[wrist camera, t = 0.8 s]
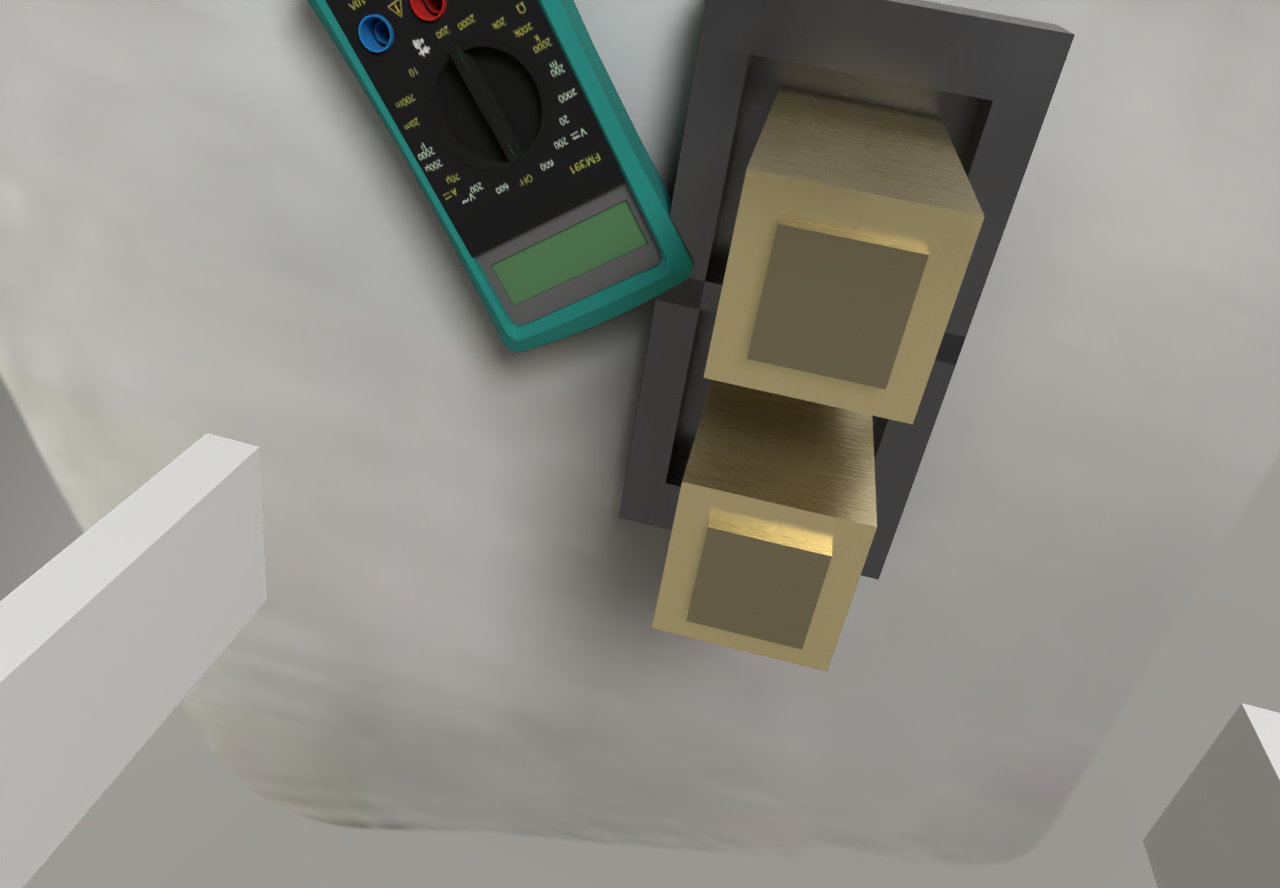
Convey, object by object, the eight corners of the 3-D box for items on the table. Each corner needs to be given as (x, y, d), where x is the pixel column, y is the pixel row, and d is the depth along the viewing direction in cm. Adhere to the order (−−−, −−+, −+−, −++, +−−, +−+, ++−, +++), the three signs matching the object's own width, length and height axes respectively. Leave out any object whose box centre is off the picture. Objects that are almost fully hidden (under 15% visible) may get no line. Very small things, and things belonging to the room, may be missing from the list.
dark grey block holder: (721, -36, 28) (711, -32, 26) (1057, 24, 27) (1074, 34, 25) (631, 483, 38) (618, 517, 36) (876, 540, 37) (878, 579, 35)
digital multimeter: (492, -196, 27) (457, -211, 25) (708, 259, 32) (698, 286, 30) (304, -65, 30) (254, -66, 27) (531, 337, 35) (507, 368, 32)
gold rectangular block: (729, 320, 33) (679, 489, 24) (869, 351, 33) (877, 536, 23) (704, 440, 36) (649, 637, 26) (833, 469, 35) (826, 681, 26)
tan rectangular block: (780, 86, 29) (744, 173, 19) (940, 117, 29) (986, 221, 19) (746, 239, 32) (700, 384, 22) (894, 270, 31) (913, 432, 22)
